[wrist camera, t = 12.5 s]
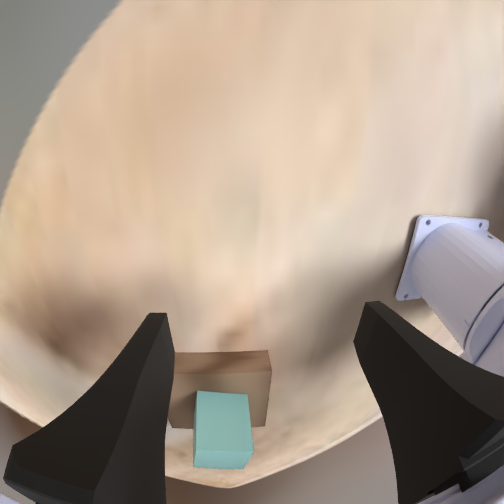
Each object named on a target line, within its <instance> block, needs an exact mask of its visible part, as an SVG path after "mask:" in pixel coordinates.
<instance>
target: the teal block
mask: <svg viewBox="0 0 504 504" xmlns="http://www.w3.org/2000/svg"><path fill="white" fill-rule="evenodd" d="M253 453H254V447H253V439H252V430H251V422H250V413H249V404H248V394H233V393H219V392H207V391H197V396H196V403H195V410H194V434H193V467H197V468H213V469H244V467H245V466H246V464H247V463H248V461H249V459H250V458H251V456H252V454H253Z"/></svg>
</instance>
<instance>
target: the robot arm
mask: <svg viewBox="0 0 504 504" xmlns="http://www.w3.org/2000/svg"><path fill="white" fill-rule="evenodd" d="M427 220H428V222H427V223H426V221H427ZM488 227H489V221H488V220H486V219H479V218H466V217H451V216H435V215H420V216H419V217H418V218H417V221H416V225H415V229H414V234H413V237H412V241H411V245H410V249H409V253H408V256H407V260H406V263H405V267H404V270H403V273H402V277H401V280H400V283H399V286H398V289H397V292H396V296H395V297H396V299H397V300H398V301H404V300H412V299H420V298H423V299H424V300H425V301H426V303H427V304H428V305H429V306H430V308H431V309H432V310H433V311H434V313H435V314H436V315H437V316H438V318H439V319H440V320H441V321H442V323H443V324H444V325H445V326H446V328H447V329H448V330H449V332H450V333H451V334H452V336H453V337H454V338H455V340H456V341H457V342H458V344H459V345H460V346H461V348H462V349H463V350H464V353H463V354H462V356H461V358H460V357H458V356H457V355H455V354H453V353H452V352H450V351H448V350H447V349H445V348H443V347H442V346H440V345H439V344H438V343H436V342H435V341H433V340H432V339H430V338H429V337H427V336H426V335H425V334H423V333H422V332H421V331H419V330H418V329H416V328H415V327H414V326H412V325H411V324H410V323H409V322H407V321H406V320H405V319H403V318H402V317H401V316H399V315H398V314H397V313H395V312H394V311H393V310H391V309H390V308H389V307H387V306H386V305H384V304H383V303H381V302H380V301H375V302H365V306H364V309H363V312H362V316H361V319H360V322H359V326H358V329H357V332H356V335H355V338H354V341H353V342H354V345H355V349H356V352H357V356H358V359H359V362H360V365H361V367H362V369H363V372H364V374H365V376H366V378H367V381H368V383H369V385H370V387H371V389H372V392H373V394H374V396H375V398H376V401H377V403H378V405H379V407H380V410H381V413H382V415H383V418H384V422H385V425H386V429H387V432H388V436H389V440H390V445H391V449H392V453H393V459H394V465H395V471H396V479H397V490H398V503H399V504H418V503H419V504H504V243H503V242H501V241H500V240H499V239H497V238H496V237H495V236H493V235H492V234H490V233H489V232H488V231H487V230H488ZM405 294H406V295H405ZM174 363H175V351H174V347H173V342H172V337H171V333H170V328H169V323H168V318H167V313H149V314H148V315H147V317H146V318H145V319H144V321H143V322H142V324H141V325H140V327H139V328H138V330H137V331H136V332H135V334H134V335H133V337H132V338H131V339H130V341H129V342H128V343H127V345H126V346H125V347H124V349H123V350H122V351H121V353H120V354H119V355H118V357H117V358H116V359H115V360H114V362H113V363H112V364H111V365H110V366H109V368H108V369H107V370H106V371H105V372H104V374H103V375H102V376H101V377H100V378H99V379H98V380H97V381H96V382H95V384H94V385H93V386H92V387H91V388H90V389H89V390H88V391H87V392H86V393H85V394H84V395H83V396H82V397H80V398H79V399H78V400H77V401H76V402H75V403H74V404H73V405H72V406H70V407H69V408H68V409H67V410H66V411H65V412H63V413H62V414H61V415H60V416H58V417H57V418H56V419H54V420H53V421H52V422H50V423H49V424H47V425H46V426H45V427H43V428H42V429H40V430H39V431H37V432H35V433H34V434H32V435H30V436H29V437H27V438H25V439H24V440H22V441H20V442H18V443H16V444H14V445H13V446H12V449H11V452H10V456H9V459H8V462H7V466H6V469H5V474H4V477H3V479H4V481H5V483H6V484H7V485H9V486H10V487H11V488H13V489H14V490H16V491H18V492H19V493H21V494H23V495H24V496H26V497H27V498H29V499H31V500H33V501H34V502H36V504H166V492H165V491H166V490H165V433H166V425H167V418H168V411H169V405H170V399H171V392H172V386H173V380H174ZM434 495H435V496H434ZM432 496H433V497H432ZM430 497H431V498H430ZM428 498H429V499H428ZM426 499H427V500H426ZM424 500H425V501H424ZM422 501H423V502H422ZM420 502H421V503H420ZM0 504H24V503H22V502H19V501H17V500H15V499H13V498H11V497H9V496H7V495H5V494H3V493H1V494H0Z"/></svg>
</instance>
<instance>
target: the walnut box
mask: <svg viewBox="0 0 504 504" xmlns="http://www.w3.org/2000/svg"><path fill="white" fill-rule="evenodd" d="M271 375H272V369H271V364H270V359H269V353H268V350H263V351H243V352H208V353H175V363H174V380H173V386H172V392H171V399H170V405H169V411H168V419H169V421H170V424H171V426H172V428H186V429H194V410H195V403H196V396H197V391H207V392H219V393H233V394H248V404H249V413H250V422H251V427H260V426H265V422H266V414H267V407H268V399H269V391H270V383H271Z"/></svg>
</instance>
